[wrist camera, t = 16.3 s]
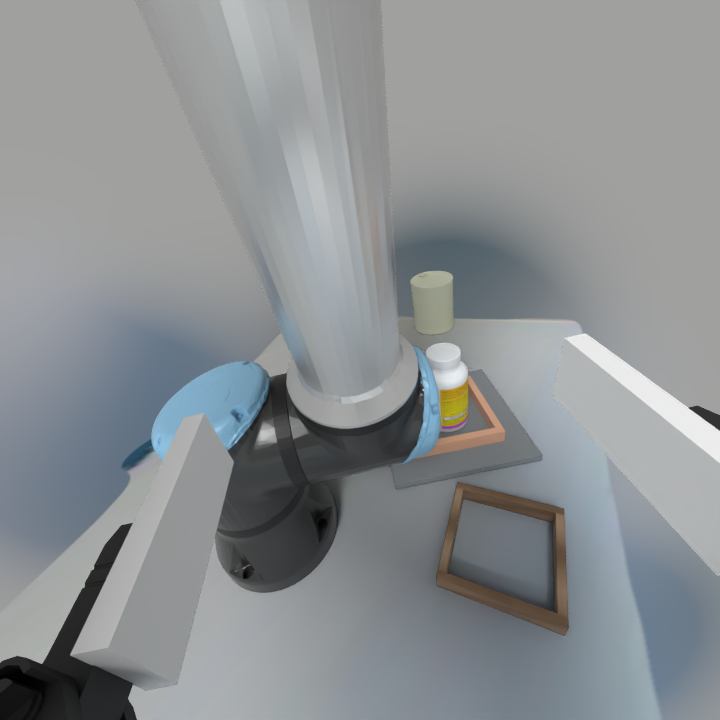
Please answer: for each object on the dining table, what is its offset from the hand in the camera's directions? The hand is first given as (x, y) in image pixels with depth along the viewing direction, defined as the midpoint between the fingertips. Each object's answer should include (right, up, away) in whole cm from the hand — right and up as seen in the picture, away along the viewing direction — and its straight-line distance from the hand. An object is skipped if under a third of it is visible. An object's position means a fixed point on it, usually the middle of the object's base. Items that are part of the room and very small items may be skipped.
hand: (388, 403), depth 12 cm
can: (+17, +10, +66) cm, 69 cm away
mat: (+13, -8, +41) cm, 44 cm away
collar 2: (+15, -19, +24) cm, 34 cm away
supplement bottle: (+13, -8, +40) cm, 43 cm away
